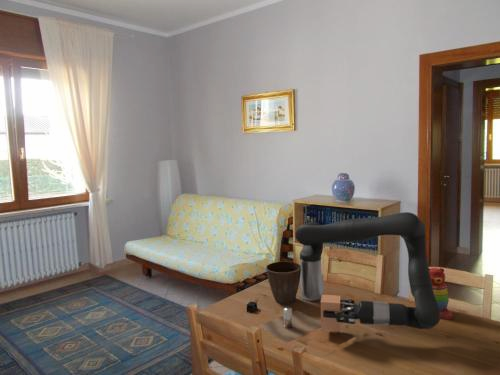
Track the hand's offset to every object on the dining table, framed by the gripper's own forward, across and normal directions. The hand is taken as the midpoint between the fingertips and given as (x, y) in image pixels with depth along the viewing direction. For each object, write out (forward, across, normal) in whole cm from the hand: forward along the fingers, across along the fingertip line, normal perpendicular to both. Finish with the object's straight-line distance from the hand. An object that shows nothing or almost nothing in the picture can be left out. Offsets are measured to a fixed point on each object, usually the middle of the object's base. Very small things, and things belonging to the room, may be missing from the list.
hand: (324, 309), depth 134 cm
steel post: (+13, -3, +9) cm, 16 cm away
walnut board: (+12, -4, +10) cm, 16 cm away
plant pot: (+18, -26, +10) cm, 34 cm away
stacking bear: (-41, -25, +10) cm, 49 cm away
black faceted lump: (+30, -15, +11) cm, 35 cm away
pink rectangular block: (-2, 0, +6) cm, 6 cm away
